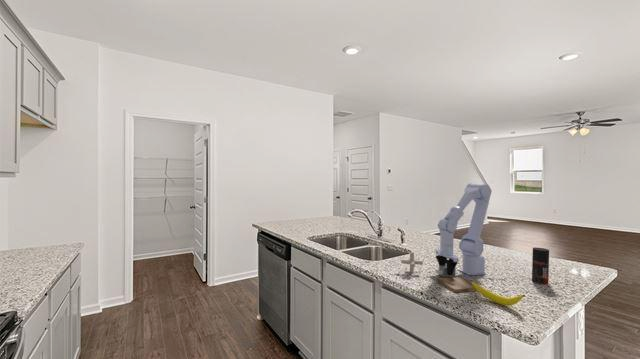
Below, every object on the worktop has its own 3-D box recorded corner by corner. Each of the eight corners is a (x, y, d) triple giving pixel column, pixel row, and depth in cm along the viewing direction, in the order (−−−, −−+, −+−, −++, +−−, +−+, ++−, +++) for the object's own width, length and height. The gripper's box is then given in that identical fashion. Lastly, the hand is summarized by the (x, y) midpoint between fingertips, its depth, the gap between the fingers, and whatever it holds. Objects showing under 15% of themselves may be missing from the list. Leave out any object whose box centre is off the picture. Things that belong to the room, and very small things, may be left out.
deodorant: (541, 285, 125) (542, 251, 125) (528, 280, 131) (529, 247, 131) (551, 284, 127) (552, 250, 127) (538, 279, 133) (539, 247, 132)
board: (460, 279, 131) (460, 277, 131) (480, 290, 119) (480, 287, 119) (437, 281, 128) (437, 279, 128) (454, 292, 116) (455, 289, 116)
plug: (451, 273, 139) (451, 264, 139) (457, 276, 135) (457, 267, 135) (434, 275, 137) (434, 265, 137) (439, 277, 133) (439, 268, 133)
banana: (472, 292, 116) (473, 277, 116) (526, 312, 100) (526, 294, 100) (468, 294, 115) (469, 278, 115) (522, 314, 99) (522, 296, 99)
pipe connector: (424, 276, 134) (424, 255, 134) (401, 275, 136) (402, 254, 136) (420, 270, 144) (421, 250, 143) (400, 268, 146) (400, 248, 145)
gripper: (430, 241, 142) (429, 268, 142) (449, 248, 128) (448, 278, 128) (442, 240, 143) (442, 267, 144) (463, 247, 129) (462, 277, 129)
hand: (446, 272), depth 136 cm, fingers open, 5 cm apart
